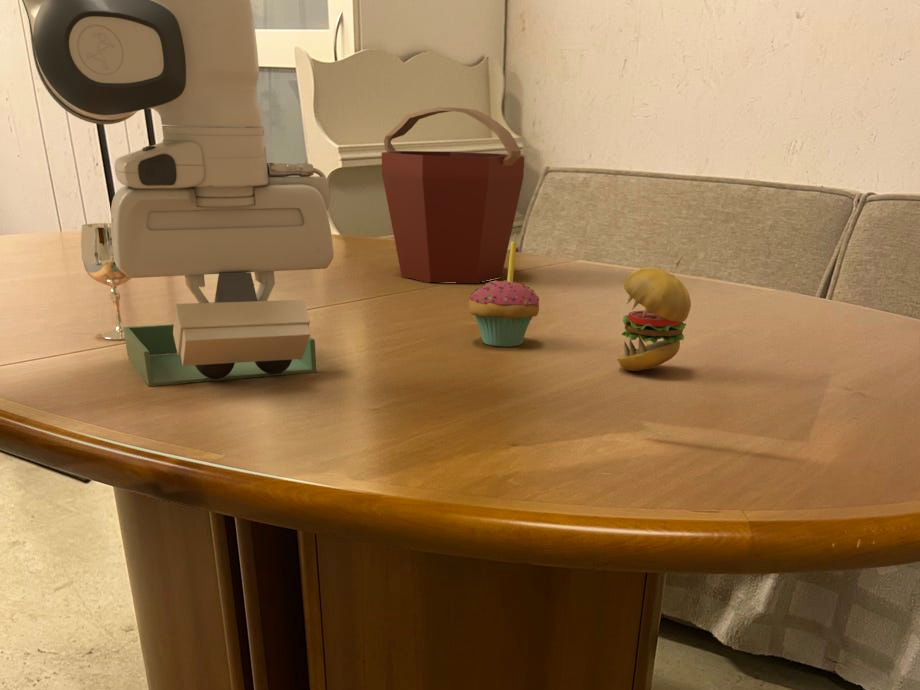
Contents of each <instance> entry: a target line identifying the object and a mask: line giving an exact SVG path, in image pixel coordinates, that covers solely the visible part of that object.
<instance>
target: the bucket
mask: <svg viewBox="0 0 920 690" xmlns="http://www.w3.org/2000/svg"><path fill="white" fill-rule="evenodd" d="M450 112H455V113H456V112H457V113H462V114H466V115H467V116H470V117H471V118H474V119H475V120H476V121H478V122H480V123H482V124H483V125H485V126H486V127H487V128H488V129H489V130H491V131H492V132H493V133H494V134H495V135H496V136H497V137H498V139H499V141H500V142H501V144H502V145H503V147H504V148H505V150H506V152H507V153H492V152H469V151H447V150H445V151H444V150H443V151H441V150H440V151H439V150H438V151H436V150H433V151H432V150H431V151H430V150H396V148H395V147H394V145H393V144H392V140H394V139H396V138H399V137H403V136H405V135H406V134H407V133H408V132H409V131H410V130H412V128H413V127H414V126H415V125H416V124H417V122H418V121H419V120H422V119H425V118H428V117H431V116H434V115H438V114H443V113H450ZM383 145H384V150H385V151H382V152H381V177H382V181H383V186H384V192H385V197H386V202H387V207H388V213H389V217H390V222H391V223H390V224H391V228H392V233H393V238H394V244H395V249H396V253H397V257H398V258H397V259H398V264H399V270H400V275H401V277H402V276H403V277H407V278H406V279H408V278H412V279H411V280H413V279H416V280H415V281H417V280H420V281H419V282H422V281H425V282H424V283H427V282H456V283H478V282H482V281H486V280H490V279H495V278H499V277H501V278H502V277H503V273H504V267H505V264H506V258H507V254H508V250H509V245H510V242H511V236H512V231H513V227H514V222H515V218H516V214H517V208H518V204H519V199H520V194H521V191H522V186H523V181H524V173H525V156H523V155H522V153H521V152H522V151H521V149H520V146H519V145H518V143H517V141H516V140H515V138H514V137H513V135H512V133H511V132H510V131H509V130H508V129H507V128H505V126H503V125H502V124H501V123H499V122H498V121H497V120H495V119H493V118H492V117H490V116H488V115H487V114H485V113H483V112H481V111H479V110H477V109H471V108H464V107H448V106H447V107H443V106H440V107H439V106H438V107H434V108H428V109H427V108H426V109H423V110H418V111H415V112H411V113H409V114H405V116H404V117H403V118H402V119H401V120H400V122H398V124H396V125H395V126H394V128H392V129H391V130H390V131H389V132H388V133H387V134H386V135H385V136H384V140H383ZM403 277H402V278H403Z"/></svg>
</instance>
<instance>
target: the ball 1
mask: <svg viewBox="0 0 920 690" xmlns="http://www.w3.org/2000/svg"><path fill="white" fill-rule="evenodd" d="M234 364H235V363H222V364H205V365H195V366H196V368H197V369H198V371H199V372H200V373H201V374H203V375H204V376H206V377H208V378H212V379H219V378H223V377H225V376H227V375H228V374H229V373H230V372H231V371H232V369H233V367H234Z"/></svg>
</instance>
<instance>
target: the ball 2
mask: <svg viewBox="0 0 920 690" xmlns="http://www.w3.org/2000/svg"><path fill="white" fill-rule="evenodd" d="M291 362H292V359H291V360H273V361H256V362H255V364H256V365H257V366H258V367H259V368H260V369H261V370H262V371H264V372H266V373H269V374H279V373H281V372H283V371H285V370H286V369H287V368H288V367H289V366H290V364H291Z"/></svg>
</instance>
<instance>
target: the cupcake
mask: <svg viewBox="0 0 920 690" xmlns="http://www.w3.org/2000/svg"><path fill="white" fill-rule="evenodd" d="M516 237H517V234H516V233H514V234H513V241H510V249H509V259H508V269H507V279H505V280H502V279H499V280H494V281H489V282H484V284H483V285H481V286H480V287H478V288H476V289H475V290H474V291H473V292H472V293H471V296H469V297H468V299H469V301H468V310H469V313H470V315H472V316H474V318H475V321H477V325H478V329H479V331H480V336H481V339H482V343H484V344H485V345H488V346H492V347H500V348H511V347H518V346H520V345H522V344H523V341H524V338H525V336H526V332H527V330H528V328H529V325H530V322H531V321H532V319H533V317H536V316H538V314H539V311H540V297H539V296H538V295H537V293H536V292H535V290H533V289H532V288H530V287H529V286H528V285H525V284H524V283H522V284H521V283H519V282H516V281H514V271H515V263H516V255H517V254H516V253H517V244H518V242H517V241H516Z"/></svg>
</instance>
